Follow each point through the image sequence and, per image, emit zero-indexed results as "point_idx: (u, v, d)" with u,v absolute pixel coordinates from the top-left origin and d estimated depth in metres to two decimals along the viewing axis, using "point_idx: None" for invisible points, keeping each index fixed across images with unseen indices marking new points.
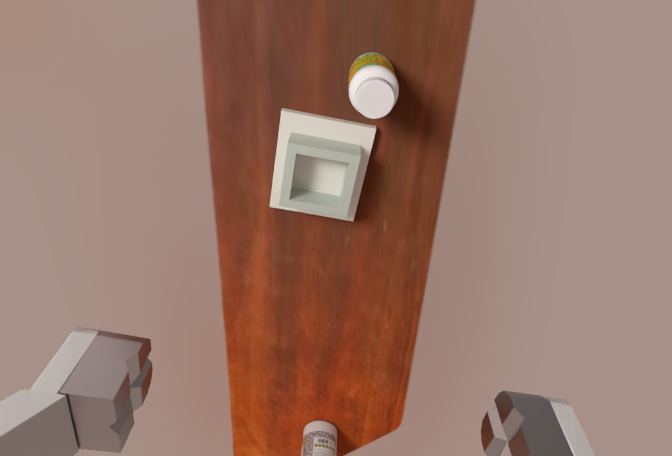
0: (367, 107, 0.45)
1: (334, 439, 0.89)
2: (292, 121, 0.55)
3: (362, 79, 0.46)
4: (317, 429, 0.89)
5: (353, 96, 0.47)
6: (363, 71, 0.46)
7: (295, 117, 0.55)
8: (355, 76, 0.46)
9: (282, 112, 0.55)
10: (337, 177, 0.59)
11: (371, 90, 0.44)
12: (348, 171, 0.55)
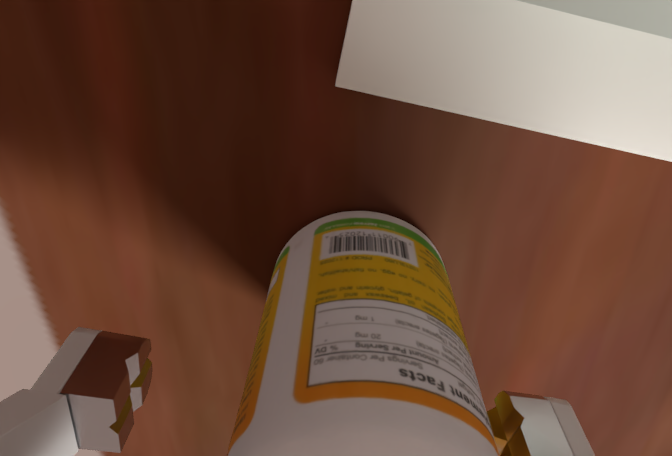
0: None
1: None
2: None
3: None
4: None
5: None
6: None
7: None
8: None
9: None
10: None
11: None
12: None
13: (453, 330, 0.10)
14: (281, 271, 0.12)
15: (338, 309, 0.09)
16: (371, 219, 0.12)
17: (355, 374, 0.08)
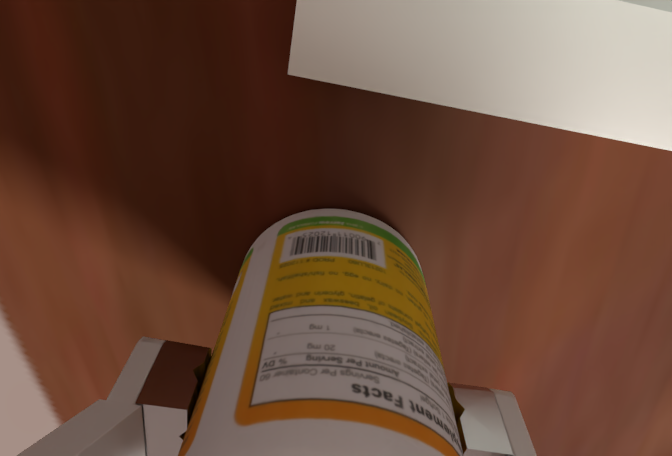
0: None
1: None
2: None
3: None
4: None
5: None
6: None
7: None
8: None
9: None
10: None
11: None
12: None
13: (421, 336, 0.09)
14: (242, 275, 0.11)
15: (292, 316, 0.08)
16: (338, 217, 0.11)
17: (302, 392, 0.07)
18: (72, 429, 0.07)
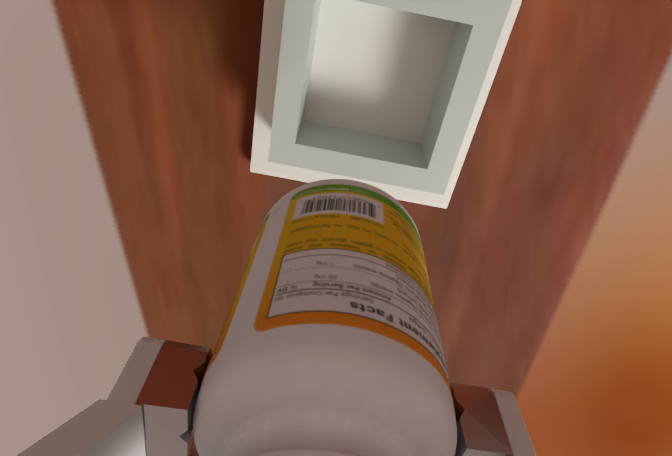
0: None
1: None
2: None
3: None
4: None
5: None
6: None
7: (419, 195, 0.26)
8: None
9: (445, 205, 0.27)
10: (330, 49, 0.22)
11: None
12: (295, 120, 0.21)
13: (413, 278, 0.10)
14: (260, 235, 0.13)
15: (302, 257, 0.10)
16: (344, 185, 0.13)
17: (309, 306, 0.08)
18: (72, 429, 0.07)
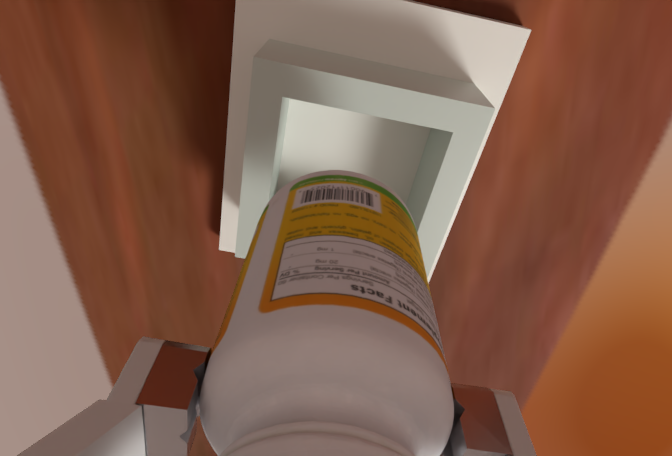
0: None
1: None
2: None
3: None
4: None
5: (435, 437, 0.09)
6: None
7: None
8: None
9: None
10: (302, 134, 0.21)
11: None
12: None
13: (410, 263, 0.11)
14: (260, 224, 0.13)
15: (303, 243, 0.10)
16: (342, 175, 0.13)
17: (312, 289, 0.09)
18: (72, 429, 0.07)
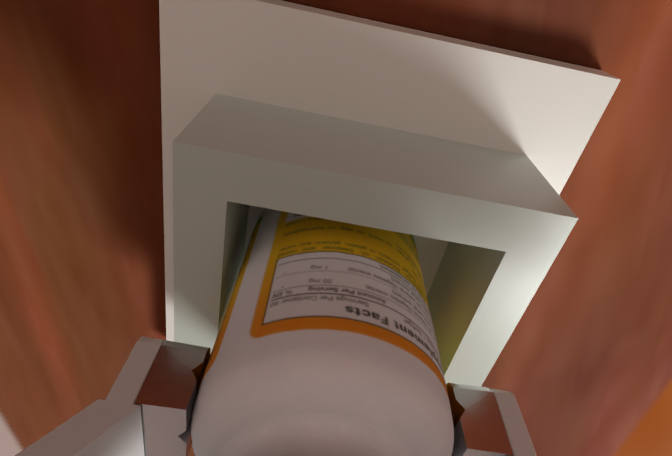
0: None
1: None
2: None
3: None
4: None
5: None
6: None
7: None
8: None
9: None
10: None
11: None
12: None
13: (407, 279, 0.10)
14: (253, 237, 0.13)
15: (296, 261, 0.10)
16: None
17: (304, 311, 0.08)
18: (71, 429, 0.07)
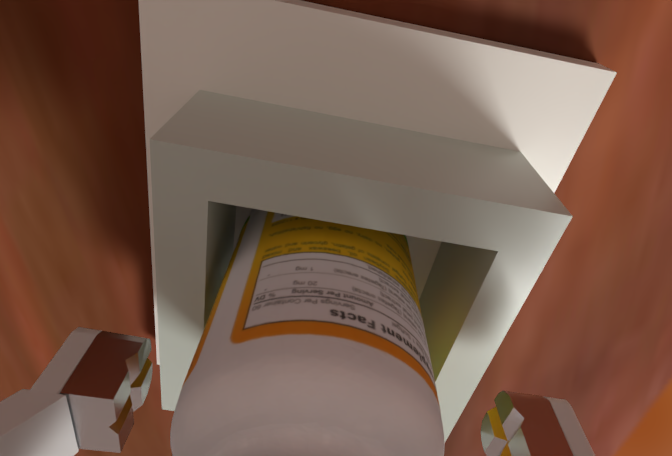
0: None
1: None
2: None
3: None
4: None
5: None
6: None
7: None
8: None
9: None
10: None
11: None
12: None
13: (397, 280, 0.10)
14: (240, 238, 0.12)
15: (281, 262, 0.10)
16: None
17: (287, 315, 0.08)
18: None
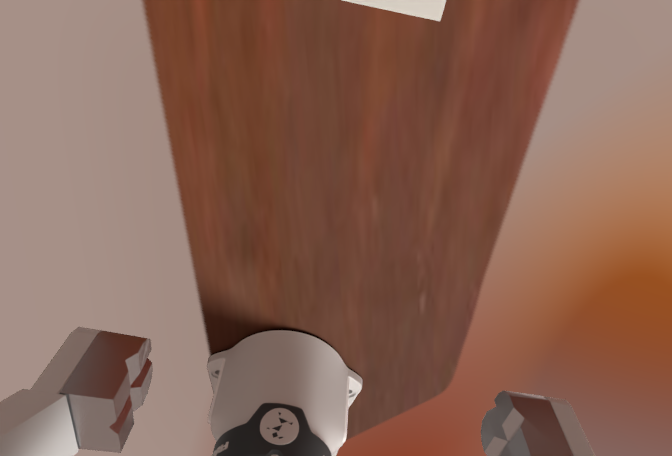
0: None
1: None
2: (423, 0, 0.31)
3: None
4: None
5: None
6: None
7: (417, 7, 0.31)
8: None
9: (439, 17, 0.32)
10: None
11: None
12: None
13: None
14: None
15: None
16: None
17: None
18: None
